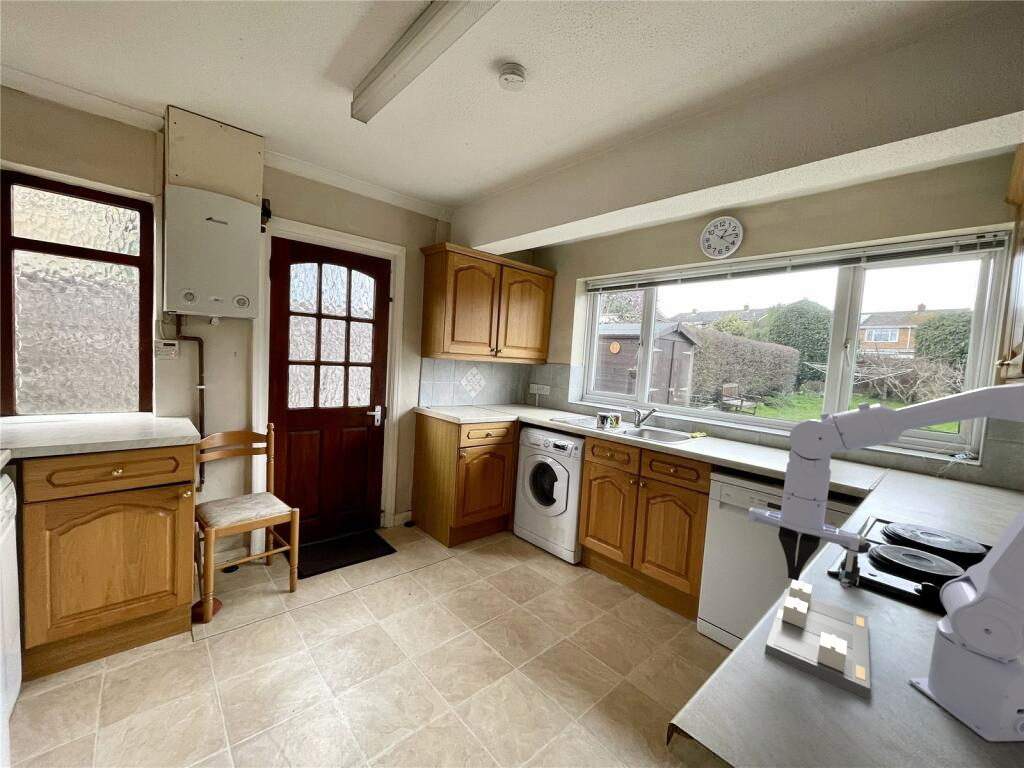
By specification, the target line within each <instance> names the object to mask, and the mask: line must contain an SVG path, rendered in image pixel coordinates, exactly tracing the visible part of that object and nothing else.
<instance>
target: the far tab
mask: <svg viewBox="0 0 1024 768" xmlns="http://www.w3.org/2000/svg"><path fill="white" fill-rule="evenodd" d="M789 590H790V592H789V597H792V598H795V599H796V598H799V600H801V601H803V602H806V603H808V608H809V604H810V600H811V597H812V591H813V584H810V583H806V582H805V581H804V580H798V581H796V580H793V579H791V584H790V587H789Z"/></svg>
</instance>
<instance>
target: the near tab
mask: <svg viewBox="0 0 1024 768" xmlns="http://www.w3.org/2000/svg"><path fill="white" fill-rule="evenodd" d="M846 653H847V641H845V640H842V639H840V638H837V637H836V635H833V634H832V635H829V634H827V633H824V632H821V639H820V645H819V653H818V660H817V661H818V662H821V663H823V664H825V665H828V666H830V667H832V668H835V669H837V670H839V671H842V672H844V669H845V662H846Z"/></svg>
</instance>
